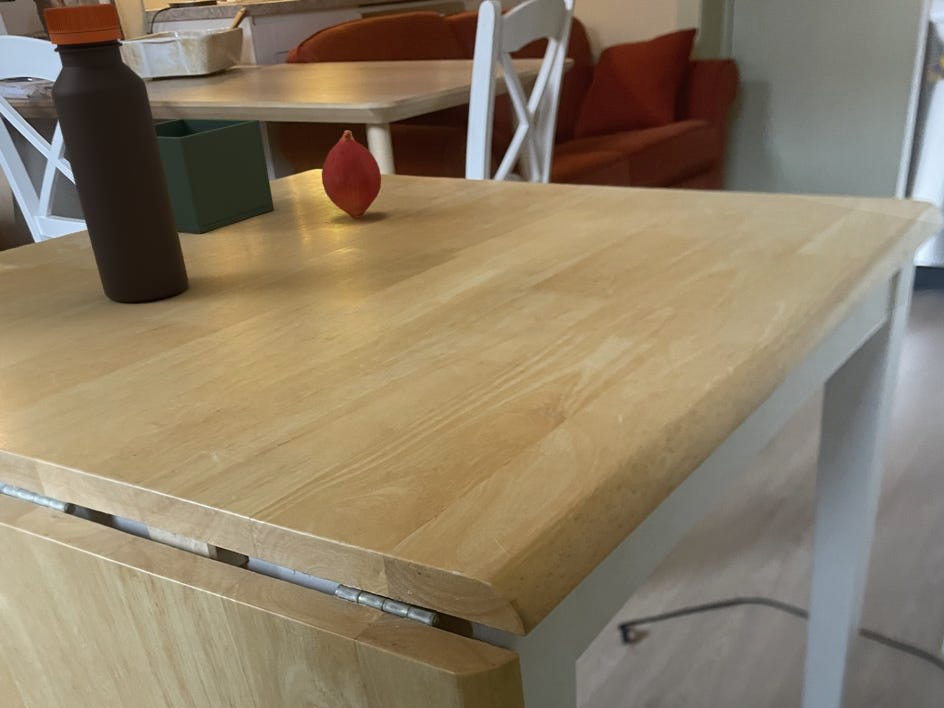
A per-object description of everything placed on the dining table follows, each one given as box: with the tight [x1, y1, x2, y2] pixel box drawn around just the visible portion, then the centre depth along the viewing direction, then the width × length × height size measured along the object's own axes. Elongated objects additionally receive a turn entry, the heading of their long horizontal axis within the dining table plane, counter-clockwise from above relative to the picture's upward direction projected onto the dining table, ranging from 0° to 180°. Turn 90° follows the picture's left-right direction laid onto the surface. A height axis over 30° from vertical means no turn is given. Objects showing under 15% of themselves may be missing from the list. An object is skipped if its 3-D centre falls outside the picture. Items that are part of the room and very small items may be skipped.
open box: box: [154, 117, 275, 235], centre depth 104 cm, size 11×11×9 cm
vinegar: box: [43, 3, 189, 303], centre depth 77 cm, size 7×7×20 cm
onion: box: [321, 129, 382, 219], centre depth 99 cm, size 6×6×8 cm
